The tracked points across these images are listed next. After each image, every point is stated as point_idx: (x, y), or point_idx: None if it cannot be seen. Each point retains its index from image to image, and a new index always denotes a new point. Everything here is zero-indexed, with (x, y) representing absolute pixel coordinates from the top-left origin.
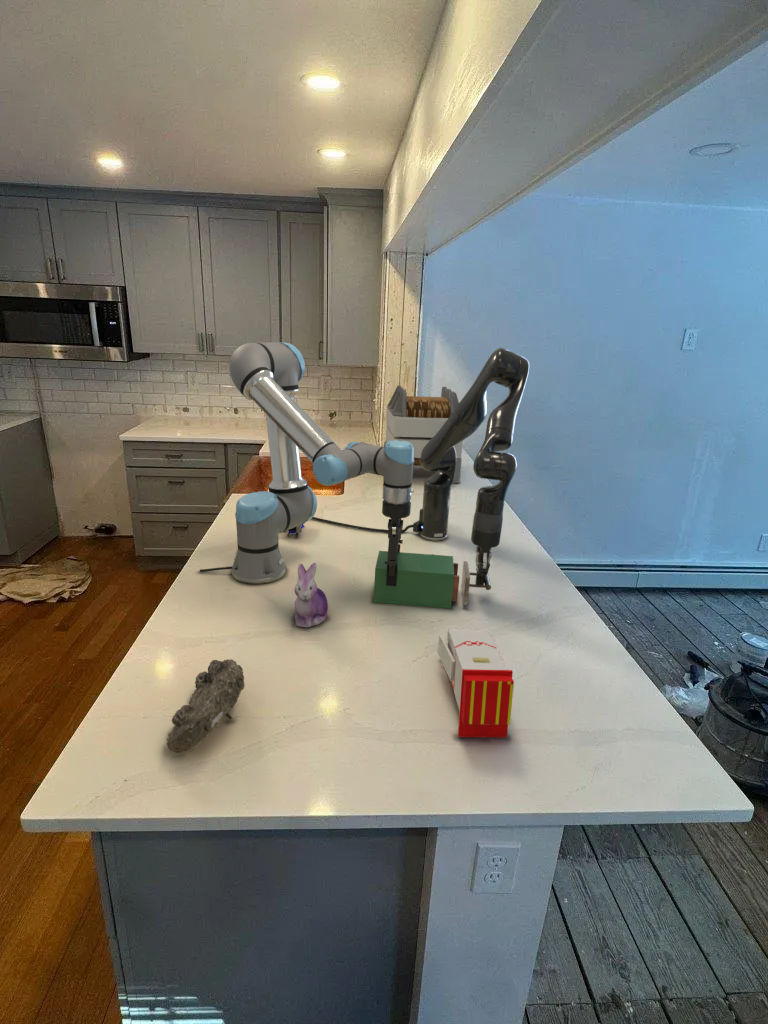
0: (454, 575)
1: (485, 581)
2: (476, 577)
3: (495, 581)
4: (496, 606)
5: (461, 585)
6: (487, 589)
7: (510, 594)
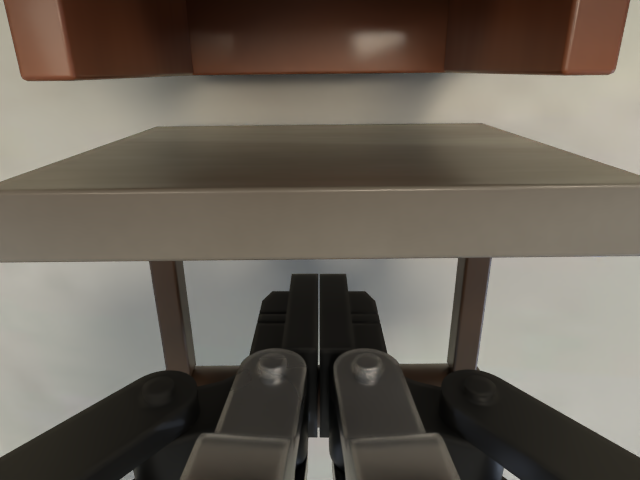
0: None
1: None
2: (303, 315)
3: (620, 374)
4: None
5: (467, 126)
6: None
7: None
